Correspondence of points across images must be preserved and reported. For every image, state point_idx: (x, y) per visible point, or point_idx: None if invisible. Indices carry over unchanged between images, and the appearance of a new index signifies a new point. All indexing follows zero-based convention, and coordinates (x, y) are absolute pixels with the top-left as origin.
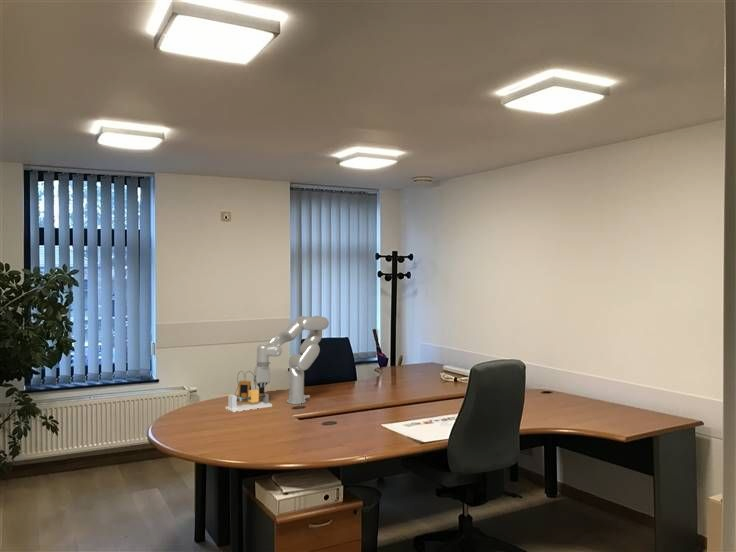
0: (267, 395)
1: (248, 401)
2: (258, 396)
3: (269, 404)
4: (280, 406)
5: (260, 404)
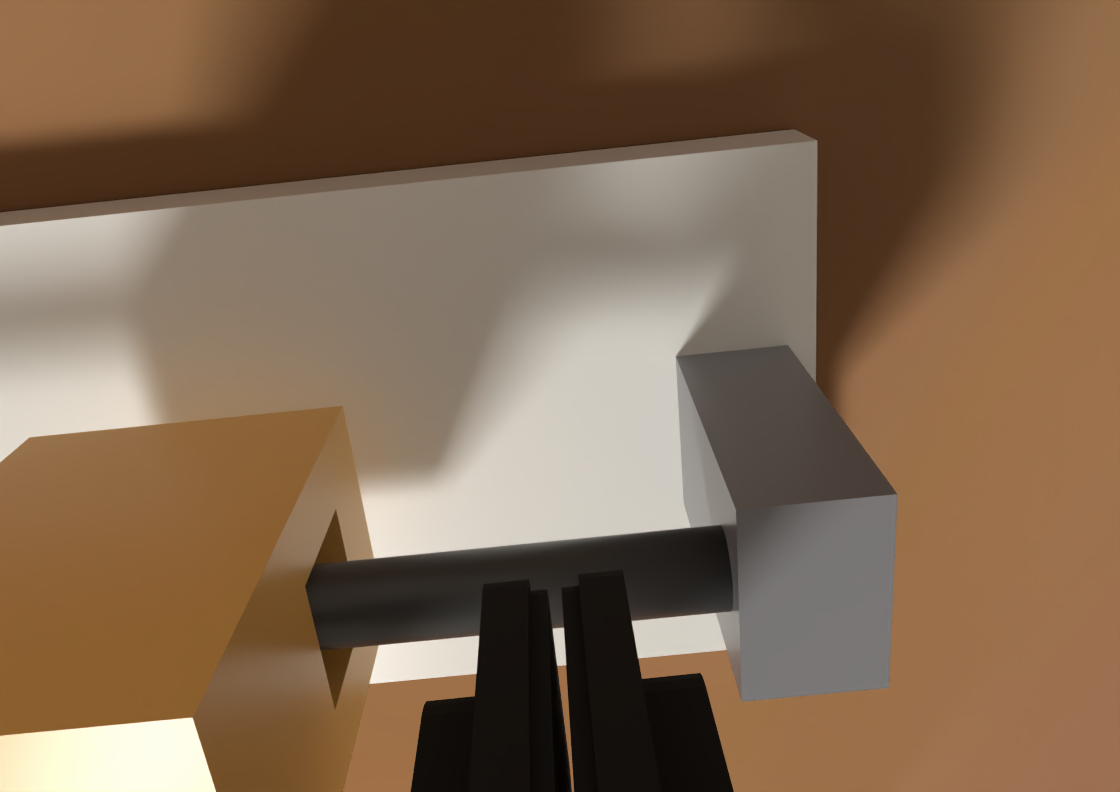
0: (813, 672)
1: (31, 447)
2: (341, 755)
3: (724, 647)
4: (993, 678)
5: (477, 538)
